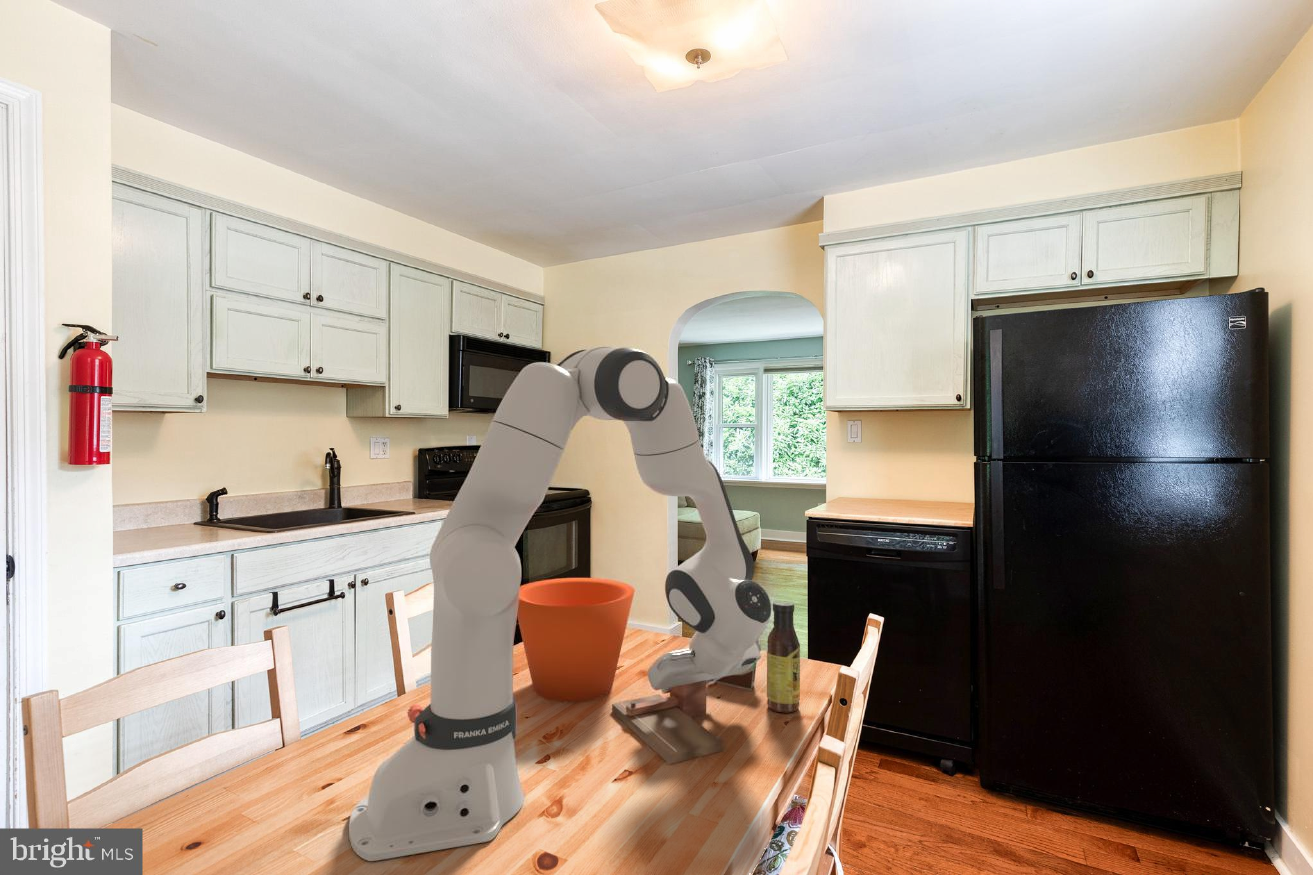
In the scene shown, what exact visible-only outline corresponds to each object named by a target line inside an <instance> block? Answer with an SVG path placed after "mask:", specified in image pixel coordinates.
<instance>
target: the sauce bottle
mask: <svg viewBox="0 0 1313 875" xmlns="http://www.w3.org/2000/svg"><path fill="white" fill-rule="evenodd" d="M772 611H773V622H772V623H773V628H772V629H771V631H770V632H769V634H768V636H767V651H766V698H767V702H766V704H767V705H766V706H767V707H768V708H769V709H771V710H772V711H774V712H778V713H785V714H786V713H787V714H789V713H792V712H793V713H794V712H796V711H798V709H799V707H800V700H801V644H800V641H799V639H798V635H797V632H796V630H795V629H796V628H795V624H794V612H795V603H793V602H791V601H785V600H779V601H774V602H772Z"/></svg>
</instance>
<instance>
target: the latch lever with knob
mask: <svg viewBox="0 0 1313 875" xmlns="http://www.w3.org/2000/svg"><path fill="white" fill-rule="evenodd" d="M707 686H708V685H707V680H705V681H700V682H695V683H690V684H685V685H680V686H675V687H673V690H672V691H671V692H670V693H669V696H667V697H663V698H661V699H656V700H652V701H647V702H642V703H637V704H636V703H635V702H631V705H628V706H626V713H627V714H628V715H630V716H634V715H639V714H643V713H648V712H652V711H657V710H662V709H666V708H671V707H675V706H676V707H677V708H678V709H680V710H681V711H682V712H684V713H685V714H686V715H688V716H689V717H690V718H692V717H696V716H701V715H705V714H707Z"/></svg>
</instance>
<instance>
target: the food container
mask: <svg viewBox="0 0 1313 875" xmlns="http://www.w3.org/2000/svg"><path fill="white" fill-rule="evenodd" d="M756 644H757V646H758V649H759V652H760V653H761V651H762V646H761V642H760V640H759V638H758V640H757V641H756ZM757 662H758V661H757ZM757 662H755V663H754V664H753V665H752V666H751V667H750V668H749V669H748V670H747V671H745V672H743V673H740V674H735V675H730V676H725V677H722V678H720V679H718V680H716V681H715V682H714V683H718V684H721V685H727V686H729V687H730V686H731V687H735V688H739V689H743V690H747V691H753V690H754V689H755V688H754V687H755V679H756V671H757Z"/></svg>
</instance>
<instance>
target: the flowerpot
mask: <svg viewBox="0 0 1313 875" xmlns="http://www.w3.org/2000/svg"><path fill="white" fill-rule="evenodd" d="M634 595H635V588H634V587H633V586H632V585H631V584H628V583H626V582H622V581H618V580H612V579H606V578H599V577H598V578H595V577H566V578H565V577H563V578H562V577H561V578H552V579H542V580H538V581H532V582H529V583H525V584H522V585H520V592H519V604H518V613H517V621H518V626H519V630H520V635H521V638H522V642H523V647H524V652H525V657H526V661H527V666H528V671H529V675H530V679H531V683H532V688H533V689H532V690H533V692H534V693H535V695H537V696H538V697H539V696H540V698H541V697H542V698H541V699H543V698H544V700H546V699H547V701H551V702H555V701H556V702H555V703H581V702H582V701H583V702H589V701H593V700H595V699H598V697H599V698H601V696H602V697H604V696H606V695H607V694H609V693H610V691H611V690H612V688H613V685H614V680H615V677H616V673H617V668H618V663H619V659H620V654H621V650H622V647H623V643H624V638H625V634H626V629H627V625H628V621H629V617H630V612H631V608H632V603H633V598H634ZM605 694H606V695H605ZM603 695H604V696H603Z"/></svg>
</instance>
